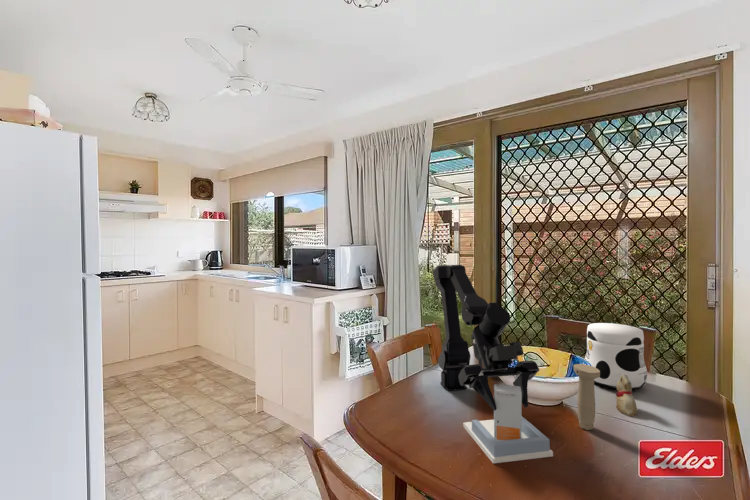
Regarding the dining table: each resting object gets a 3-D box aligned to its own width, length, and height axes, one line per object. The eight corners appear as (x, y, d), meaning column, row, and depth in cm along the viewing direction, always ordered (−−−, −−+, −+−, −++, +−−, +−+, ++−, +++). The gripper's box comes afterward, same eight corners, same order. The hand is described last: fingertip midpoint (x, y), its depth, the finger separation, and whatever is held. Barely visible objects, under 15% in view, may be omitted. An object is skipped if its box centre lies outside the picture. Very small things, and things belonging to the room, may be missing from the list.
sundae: (471, 372, 133) (471, 330, 133) (470, 366, 140) (470, 326, 139) (491, 373, 132) (491, 331, 132) (488, 367, 139) (488, 326, 138)
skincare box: (494, 441, 87) (493, 390, 86) (493, 432, 91) (493, 383, 90) (522, 445, 85) (521, 392, 85) (520, 436, 89) (520, 385, 89)
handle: (586, 420, 98) (586, 363, 97) (604, 433, 92) (604, 372, 91) (569, 421, 97) (569, 364, 97) (585, 434, 91) (586, 373, 91)
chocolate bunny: (641, 408, 105) (641, 372, 104) (634, 418, 99) (635, 380, 99) (618, 402, 109) (618, 367, 108) (610, 411, 103) (610, 375, 103)
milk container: (575, 372, 132) (575, 321, 132) (628, 374, 130) (629, 322, 129) (597, 392, 115) (597, 334, 115) (659, 395, 113) (660, 335, 112)
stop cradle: (463, 426, 96) (463, 412, 96) (514, 421, 98) (514, 408, 98) (493, 463, 80) (493, 447, 80) (553, 456, 82) (553, 440, 82)
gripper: (462, 332, 89) (483, 397, 79) (535, 327, 92) (564, 390, 82) (450, 354, 97) (468, 417, 87) (517, 350, 100) (542, 409, 90)
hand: (511, 408), depth 86 cm, fingers open, 7 cm apart
